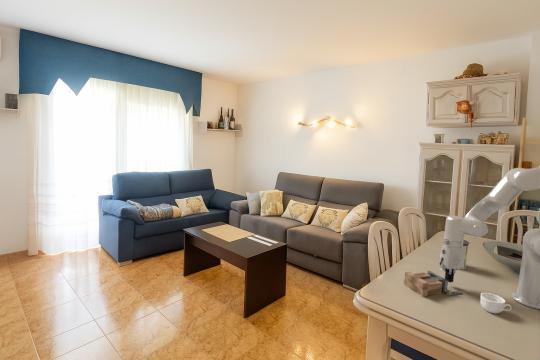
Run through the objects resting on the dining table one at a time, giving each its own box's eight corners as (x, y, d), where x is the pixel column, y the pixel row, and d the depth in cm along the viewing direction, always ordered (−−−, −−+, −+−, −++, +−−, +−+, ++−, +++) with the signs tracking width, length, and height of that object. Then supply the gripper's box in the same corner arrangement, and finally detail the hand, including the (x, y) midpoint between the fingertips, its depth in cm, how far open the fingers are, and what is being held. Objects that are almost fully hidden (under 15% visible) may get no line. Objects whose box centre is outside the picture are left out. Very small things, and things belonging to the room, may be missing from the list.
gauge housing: (462, 293, 128) (464, 281, 127) (425, 299, 123) (427, 285, 122) (438, 280, 141) (440, 268, 140) (404, 284, 135) (405, 272, 134)
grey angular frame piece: (451, 293, 127) (452, 283, 126) (432, 296, 124) (433, 285, 123) (429, 280, 138) (430, 270, 138) (411, 282, 136) (412, 272, 135)
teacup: (478, 310, 116) (480, 297, 115) (479, 302, 122) (481, 290, 121) (510, 320, 109) (512, 307, 109) (510, 312, 115) (512, 299, 115)
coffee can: (440, 260, 164) (443, 236, 163) (459, 262, 163) (462, 238, 162) (449, 268, 154) (452, 243, 152) (470, 270, 153) (473, 244, 151)
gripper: (447, 247, 127) (442, 286, 129) (473, 244, 131) (468, 283, 133) (433, 241, 134) (429, 279, 136) (458, 239, 138) (454, 275, 141)
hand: (448, 280), depth 135 cm, fingers closed
